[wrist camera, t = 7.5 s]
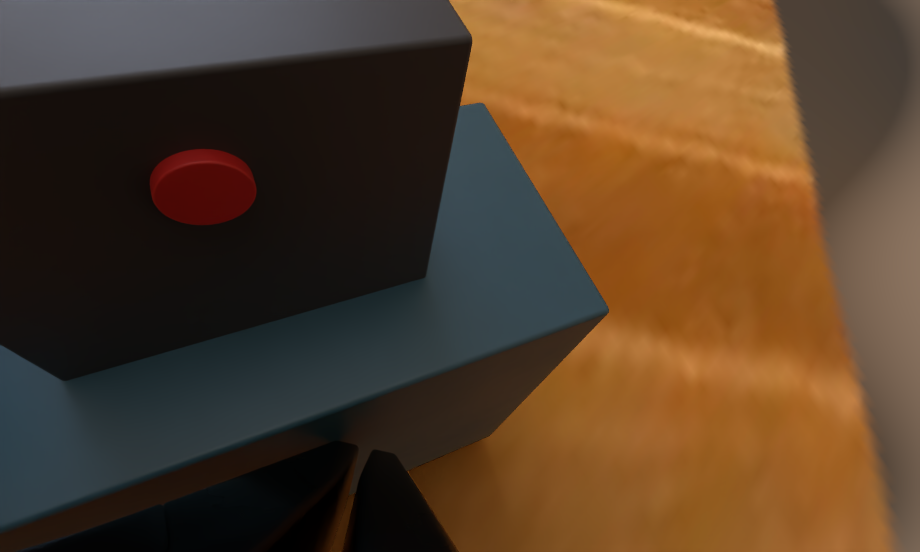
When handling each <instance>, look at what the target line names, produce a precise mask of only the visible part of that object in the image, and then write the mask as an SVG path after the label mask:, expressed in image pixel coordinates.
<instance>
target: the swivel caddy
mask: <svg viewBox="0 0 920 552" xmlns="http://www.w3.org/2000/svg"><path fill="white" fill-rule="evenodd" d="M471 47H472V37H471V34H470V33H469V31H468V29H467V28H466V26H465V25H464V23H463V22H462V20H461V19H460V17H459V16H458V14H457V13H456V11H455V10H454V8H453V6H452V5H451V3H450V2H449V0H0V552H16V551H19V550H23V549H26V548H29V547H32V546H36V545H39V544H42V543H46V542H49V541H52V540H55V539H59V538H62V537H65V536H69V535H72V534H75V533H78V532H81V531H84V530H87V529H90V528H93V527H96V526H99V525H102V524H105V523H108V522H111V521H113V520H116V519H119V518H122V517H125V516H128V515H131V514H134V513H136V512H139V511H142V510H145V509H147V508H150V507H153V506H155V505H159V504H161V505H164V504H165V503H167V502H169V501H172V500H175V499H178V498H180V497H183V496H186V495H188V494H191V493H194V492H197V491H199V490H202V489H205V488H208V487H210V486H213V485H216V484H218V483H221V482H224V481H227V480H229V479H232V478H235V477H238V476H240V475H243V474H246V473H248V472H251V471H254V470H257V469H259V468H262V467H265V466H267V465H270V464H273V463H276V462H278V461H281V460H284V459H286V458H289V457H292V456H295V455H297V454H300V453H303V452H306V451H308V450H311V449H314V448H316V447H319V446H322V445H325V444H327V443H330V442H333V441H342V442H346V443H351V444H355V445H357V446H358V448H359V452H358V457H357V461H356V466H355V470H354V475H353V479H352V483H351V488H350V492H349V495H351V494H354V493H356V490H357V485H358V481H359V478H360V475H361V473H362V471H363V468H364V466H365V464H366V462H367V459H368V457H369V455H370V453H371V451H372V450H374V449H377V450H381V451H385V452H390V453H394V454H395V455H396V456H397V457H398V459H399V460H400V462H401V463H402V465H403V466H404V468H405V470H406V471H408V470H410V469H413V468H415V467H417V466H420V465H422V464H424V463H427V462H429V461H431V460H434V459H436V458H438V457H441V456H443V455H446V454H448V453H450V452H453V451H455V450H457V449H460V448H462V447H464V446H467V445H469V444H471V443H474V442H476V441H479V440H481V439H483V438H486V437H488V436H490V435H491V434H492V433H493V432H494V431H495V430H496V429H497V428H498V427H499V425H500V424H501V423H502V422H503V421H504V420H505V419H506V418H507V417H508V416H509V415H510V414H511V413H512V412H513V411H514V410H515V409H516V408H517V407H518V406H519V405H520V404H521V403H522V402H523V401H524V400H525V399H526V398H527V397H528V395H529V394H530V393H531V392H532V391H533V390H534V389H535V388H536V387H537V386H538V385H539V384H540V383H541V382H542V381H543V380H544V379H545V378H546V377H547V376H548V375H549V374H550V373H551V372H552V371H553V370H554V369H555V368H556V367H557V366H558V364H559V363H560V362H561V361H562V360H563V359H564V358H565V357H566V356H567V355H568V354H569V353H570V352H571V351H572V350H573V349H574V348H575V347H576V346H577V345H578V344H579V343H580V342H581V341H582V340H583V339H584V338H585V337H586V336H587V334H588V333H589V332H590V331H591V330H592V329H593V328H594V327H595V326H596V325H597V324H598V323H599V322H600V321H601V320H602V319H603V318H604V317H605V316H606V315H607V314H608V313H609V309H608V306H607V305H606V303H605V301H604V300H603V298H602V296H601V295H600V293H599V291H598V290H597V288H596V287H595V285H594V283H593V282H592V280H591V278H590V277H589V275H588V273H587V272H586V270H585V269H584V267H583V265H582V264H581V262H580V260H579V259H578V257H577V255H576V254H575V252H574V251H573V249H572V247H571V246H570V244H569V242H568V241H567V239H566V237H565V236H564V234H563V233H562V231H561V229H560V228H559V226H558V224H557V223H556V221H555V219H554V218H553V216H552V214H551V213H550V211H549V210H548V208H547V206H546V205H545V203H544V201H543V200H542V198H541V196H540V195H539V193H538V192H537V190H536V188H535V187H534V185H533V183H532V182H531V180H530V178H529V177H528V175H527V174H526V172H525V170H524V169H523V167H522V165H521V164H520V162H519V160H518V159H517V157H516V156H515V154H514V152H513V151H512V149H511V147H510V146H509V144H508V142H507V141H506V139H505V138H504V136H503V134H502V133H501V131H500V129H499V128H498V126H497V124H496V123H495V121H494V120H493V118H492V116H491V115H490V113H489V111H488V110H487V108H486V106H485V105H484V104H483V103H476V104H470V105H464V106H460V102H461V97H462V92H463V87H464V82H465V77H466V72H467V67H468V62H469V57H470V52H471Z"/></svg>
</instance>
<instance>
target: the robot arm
mask: <svg viewBox="0 0 920 552" xmlns="http://www.w3.org/2000/svg"><path fill="white" fill-rule="evenodd" d="M358 452H359V448H358V446H357V445H355V444H351V443H346V442H342V441H333V442H330V443H327V444H325V445H322V446H319V447H316V448H314V449H311V450H308V451H306V452H303V453H300V454H297V455H295V456H292V457H289V458H286V459H284V460H281V461H278V462H276V463H273V464H270V465H267V466H265V467H262V468H259V469H257V470H254V471H251V472H248V473H246V474H243V475H240V476H238V477H235V478H232V479H229V480H227V481H224V482H221V483H218V484H216V485H213V486H210V487H208V488H205V489H202V490H199V491H197V492H194V493H191V494H188V495H186V496H183V497H180V498H178V499H175V500H172V501H169V502H167V503H165V504H164V505H161V504H159V505H155V506H153V507H150V508H147V509H145V510H142V511H139V512H136V513H134V514H131V515H128V516H125V517H122V518H119V519H116V520H113V521H111V522H108V523H105V524H102V525H99V526H96V527H93V528H90V529H87V530H84V531H81V532H78V533H75V534H72V535H69V536H65V537H62V538H59V539H55V540H52V541H49V542H46V543H42V544H39V545H36V546H32V547H29V548H26V549H23V550H19V551H16V552H330V551H331V548H332V545H333V542H334V539H335V536H336V533H337V530H338V527H339V524H340V521H341V518H342V515H343V512H344V509H345V506H346V503H347V499H348V496H349V492H350V488H351V483H352V479H353V475H354V470H355V466H356V461H357V457H358ZM342 552H459V551H458V550H457V548H456V547H455V545H454V544H453V542H452V541H451V539H450V538H449V536H448V534H447V533H446V531H445V530H444V528H443V527H442V525H441V524H440V522H439V521H438V519H437V517H436V516H435V514H434V513H433V511H432V510H431V508H430V507H429V505H428V504H427V502H426V500H425V499H424V497H423V496H422V494H421V493H420V491H419V490H418V488H417V487H416V485H415V483H414V482H413V480H412V479H411V477H410V476H409V474H408V473H407V471H406V470H405V468H404V466H403V465H402V463H401V462H400V460H399V459H398V457H397V456H396V455H395V454H394V453H390V452H385V451H381V450H377V449H374V450H372V451H371V453H370V455H369V457H368V459H367V462H366V464H365V466H364V468H363V471H362V473H361V475H360V478H359V481H358V485H357V490H356V494H355V498H354V502H353V507H352V511H351V515H350V520H349V524H348V528H347V533H346V537H345V541H344V546H343V550H342Z"/></svg>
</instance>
